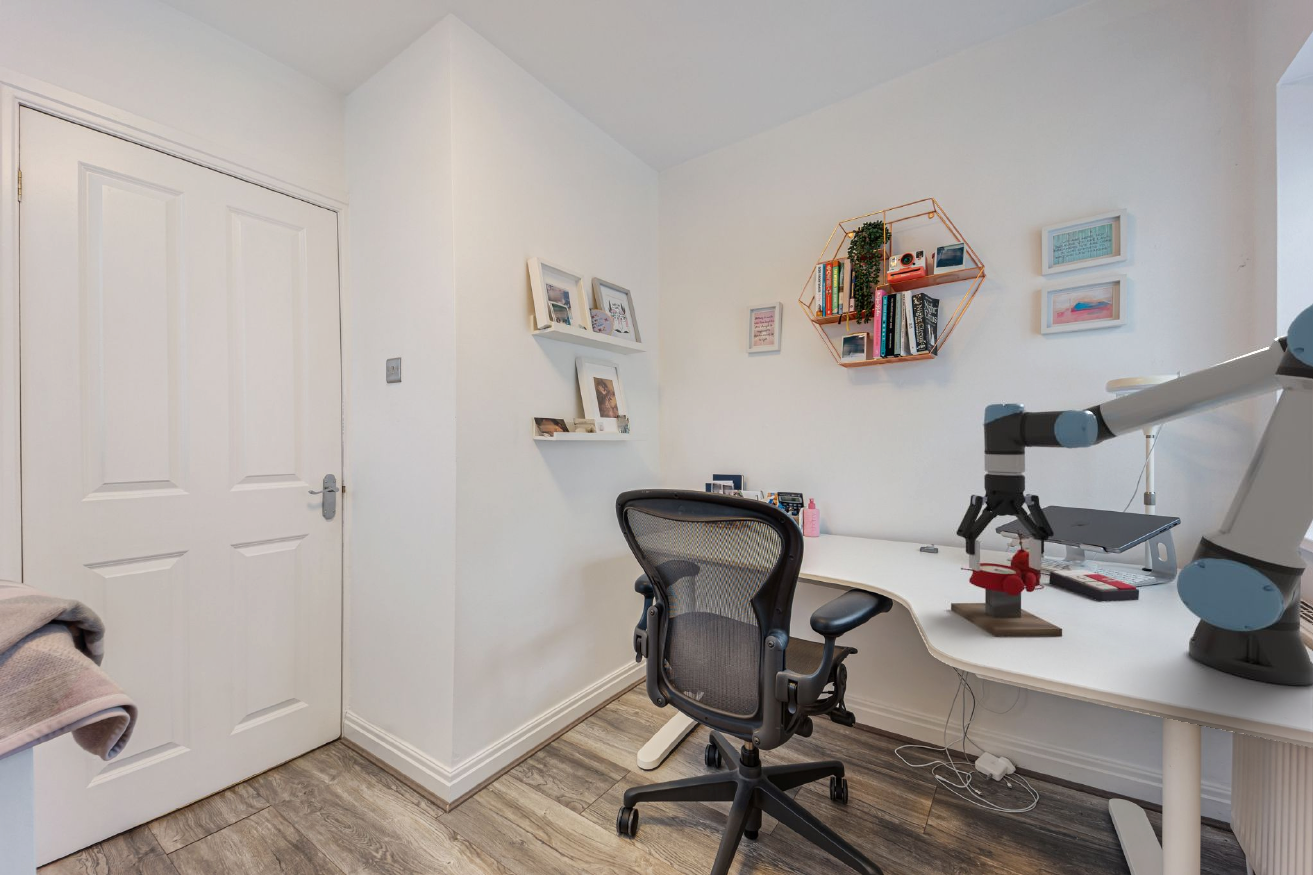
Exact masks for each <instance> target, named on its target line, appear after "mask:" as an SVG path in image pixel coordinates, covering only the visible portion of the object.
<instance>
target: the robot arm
mask: <svg viewBox="0 0 1313 875" xmlns="http://www.w3.org/2000/svg"><path fill="white" fill-rule="evenodd" d="M1280 390H1282V392H1281V394H1280V396H1279V398H1278V401H1277V403H1276V405H1275V407H1274V410H1273V411H1272V414H1271V415H1270V418H1269V420H1268V422H1267V425H1266V426H1265V429H1264V431H1263V433H1262V435H1261V438H1260V440H1259V442H1258V444H1257V446H1256V449H1255V451H1254V452H1253V455H1252V457H1251V460H1250V461H1249V464H1248V465H1247V468H1246V469H1245V470H1246V471H1245V473H1244V474H1243V477H1242V478H1241V481H1240V484H1239V486H1238V488H1237V490H1236V492H1235V495H1234V497H1233V498H1232V501H1231V503H1230V506H1229V507H1228V510H1227V512H1226V514H1225V517H1224V518H1223V521H1222V522H1221V524H1220V527H1219V528H1216V529H1212V530H1209V531H1205V532H1204V533H1203V534H1202V536H1201V538H1200V541H1199V542H1198V544H1197V546H1196V549H1195V550H1194V554H1193V556H1192V558H1191V560H1190V562H1189V563H1188V564H1186V565H1185V566H1184V567H1183V568H1182V569H1181V570H1180V571H1179V574H1178V577H1177V581H1176V590H1177V593H1178V597H1179V598H1180V600H1181V602H1182V603H1183V605H1185V607H1186V608H1187V609H1188V610H1189V611H1190V612H1191V613H1192V614H1194V615H1195V616H1196V617H1197V618H1199V619H1200V620H1199V621H1198V623H1197V625H1196V628H1195V630H1194V632H1193V635H1192V636H1191V637H1190V639H1189V640H1188V641H1189V642H1188V654H1189V655H1190V656H1191V657H1192V658H1193V659H1195V660H1196V661H1198V662H1199V663H1201V664H1204V665H1205V666H1208V667H1211V668H1213V669H1216V670H1219V671H1222V672H1225V673H1228V674H1231V675H1234V676H1238V677H1242V678H1245V679H1249V680H1250V679H1251V680H1255V681H1261V682H1265V683H1272V684H1276V685H1277V684H1278V685H1285V686H1309V685H1312V684H1313V662H1312V660H1311V658H1310V655H1309V652H1308V650H1307V647H1306V644H1305V642H1304V639H1303V637H1302V635H1301V596H1302V595H1301V588H1302V587H1301V586H1302V585H1301V584H1302V582H1301V581H1302V576H1303V574H1304V571H1305V570H1306V568H1307V567H1308V564H1307V562H1306V561H1305V560H1304V558H1303V557H1302V553H1301V550H1300V549H1299V548H1300V546H1301V544H1302V542H1303V540H1304V538H1305V536H1306V535H1307V532H1308V530H1309V528H1310V527H1311V525H1312V523H1313V303H1311V304H1310V305H1308V306H1307V307H1305V308H1304V309H1303V310H1302V311H1301V312H1299V313H1298V314H1297V315H1296V317H1295V318H1294V319H1293V321H1292V322H1291V323H1290V325H1289V327H1288V329H1287V334H1285V335H1282V336H1279V337H1276V338H1274V340H1273V341H1272V343H1271V344H1270V345H1269V346H1268V347H1265V348H1263V349H1259V350H1257V351H1253V352H1250V353H1248V354H1244V355H1242V356H1238V357H1236V358H1235V357H1234V358H1232V359H1230V360H1227V361H1224V362H1222V363H1218V364H1215V365H1212V366H1209V367H1206V368H1203V369H1200V370H1198V371H1197V370H1196V371H1194V372H1191V373H1188V374H1186V375H1182V376H1179V377H1177V378H1173V379H1171V380H1168V381H1165V382H1162V383H1158V384H1156V385H1153V386H1150V387H1147V388H1144V389H1141V390H1138V391H1135V392H1133V393H1129V394H1126V395H1123V396H1120V397H1117V398H1114V399H1112V400H1109V401H1105V402H1102V403H1100V404H1097V405H1093V406H1090V407H1088V408H1085V409H1081V410H1078V409H1068V410H1053V411H1034V412H1033V411H1027V410H1026V408H1025V405H1024V404H1023V403H995V404H994V403H993V404H989V405H987V406H986V407H985V409H984V419H983V420H984V421H983V424H982V426H983V432H984V433H983V434H984V438H983V439H984V440H983V441H984V453H983V454H984V471H985V472H986V473H985V475H984V476H983V478H984V482H983V483H984V490H985V495H984V496H981V495H978V494H972V495H971V496H970V500H969V505H968V508H967V510H966V512H965V514H964V516H963V518H962V520H961V522H960V525H959V526H958V528H957V530H956V533H955V534H956V535H957V536H958V537H961V538H963V539H965V553H966V554H967V555H968V569H974V570H976V571H980V563H981V541H980V540H977V539H978V537H980V535H981V534H982V533H983V531H984V530H985V529H986V528H987V527H988V525H989V524H990V523H991V522H992V521H993V520H994V519H996V518H997V517H999V516H1000V517H1005V516H1010V517H1011V516H1013V517H1016V518H1017V520H1018V521H1019V522H1020V524H1022V526H1024V528H1025V529H1026V530H1027V531H1028V533H1029V534H1030V535H1031V537H1028V552H1029V567H1031V568H1034V569H1037V570H1042V554H1044V553H1045V541H1048V540H1049V538H1052V537H1054V535H1055V533H1054V531H1053V528H1052V526H1051V525H1050V523H1049V521H1048V519H1047V517H1046V514H1045V513H1044V511H1043V509H1042V507H1041V505H1040V497H1039V496H1038V495H1037V494H1036V495H1035V494H1032V493H1027V494H1026V495H1024V491H1026V475H1024V474H1023V473H1025V472H1026V450H1025V449H1026V448H1063V449H1065V448H1066V449H1078V448H1089V447H1092V446H1096V445H1098V444H1101V443H1102V442H1104V441H1107V440H1112V439H1115V438H1117V437H1120V436H1124V435H1128V434H1130V433H1133V432H1134V433H1135V432H1138V431H1141V430H1145V429H1148V428H1151V427H1155V426H1159V425H1162V424H1165V423H1169V422H1173V421H1176V420H1180V419H1184V418H1186V417H1189V416H1190V417H1191V416H1193V415H1196V414H1197V415H1198V414H1201V413H1204V412H1207V411H1210V410H1211V411H1212V410H1215V409H1218V408H1221V407H1225V406H1228V405H1232V404H1236V403H1239V402H1242V401H1245V400H1249V399H1253V398H1256V397H1259V396H1262V395H1263V396H1264V395H1266V394H1269V393H1273V392H1277V391H1280ZM1024 504H1025V505H1026V506H1027V510H1028V511H1029V513H1030V515H1031V517H1032V518H1031V517H1030V515H1029V514H1028V512H1027V511H1026V510H1025V508H1024V507H1023V505H1024ZM984 505H986V506H985V507H984V508H983V509H982V507H983V506H984ZM981 510H982V511H981ZM980 513H981V514H980Z"/></svg>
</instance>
